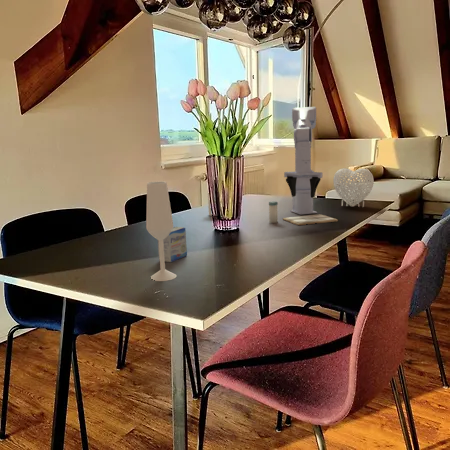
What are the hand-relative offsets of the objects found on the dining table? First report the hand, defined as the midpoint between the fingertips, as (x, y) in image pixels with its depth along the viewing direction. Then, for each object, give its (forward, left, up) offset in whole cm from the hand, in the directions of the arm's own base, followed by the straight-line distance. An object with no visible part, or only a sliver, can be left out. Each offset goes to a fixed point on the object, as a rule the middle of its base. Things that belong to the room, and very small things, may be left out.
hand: (303, 196), depth 170 cm
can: (-34, -24, -10) cm, 43 cm away
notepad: (-4, +5, -10) cm, 12 cm away
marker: (-7, -9, -10) cm, 15 cm away
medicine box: (+26, -56, -10) cm, 63 cm away
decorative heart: (-22, +37, -10) cm, 44 cm away
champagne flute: (+42, -62, -10) cm, 76 cm away
